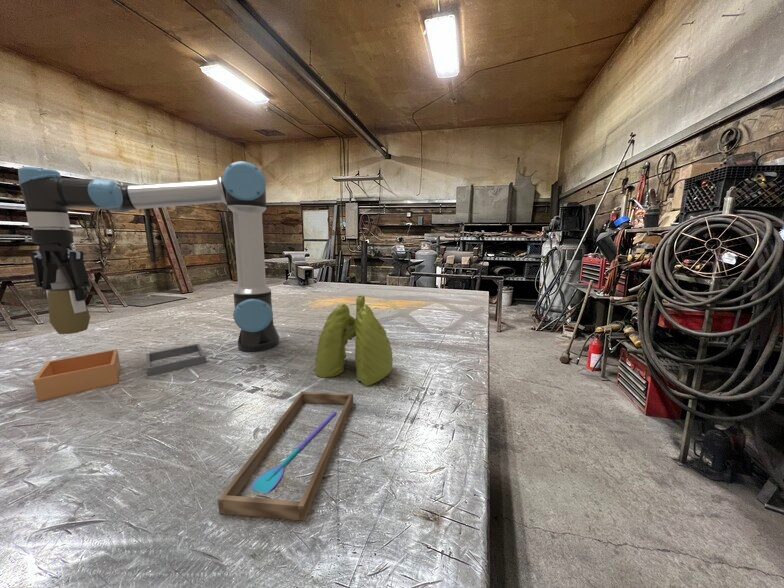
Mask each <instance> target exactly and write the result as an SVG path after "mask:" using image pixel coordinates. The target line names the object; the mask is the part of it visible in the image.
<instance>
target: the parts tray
mask: <svg viewBox="0 0 784 588" xmlns="http://www.w3.org/2000/svg"><path fill="white" fill-rule="evenodd" d="M194 352H198V354H199V356H195V357H190V358H185V359H181V360H177V361H173V362H167V363H162V364H158V365H154V366H153V365H152V364H151V361H155V360H161V359H165V358H170V357H175V356H176V357H177V356H181V355H185V354H190V353H194ZM145 357H146V373H147V376H148V377H149V376H150V377H151V376H154V375H155V376H156V375H159V374H163V373H168V372H172V371H175V370H176V371H178V370H181V369H184V368H189V367H194V366H198V365H203V364H207V358H206V354H205V352H204V350H203V349H202V347H201V345H200V343H195V344H189V345H185V346H180V347H179V346H178V347H175V348H169V349H165V350H159V351H154V352H148V353H146V354H145Z"/></svg>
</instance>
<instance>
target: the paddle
mask: <svg viewBox="0 0 784 588" xmlns="http://www.w3.org/2000/svg"><path fill="white" fill-rule="evenodd" d="M336 415H337V412H336V411H332V412H331V414H330V415H328V417H326V419H324V420H323V421H322V422H321V423H320V424H319V425H318V426H317V427H316V428H315V429H314V430H313V431H312V432H311V433H310V434H308V436H307V437H306V438H305V439H304V440H303V441H302V442H301V443H300V444H299V445H298V446H297V447H296V448H295V449H294V450H293V451H292V452H291V453H290V454H289V455H288V456H287V457H286V458H284V460H283V461H282V462H281V463H280V464H279V465H276V466H274V467H271V468H269V469H268V470H266V471H264V472H263V473H261V474H260V475H258V477H256V478H255V480H254V481H253V482H252V484H251V487H250V488H251V490H253V491H256V492H260V493H263V494H269V493H270V492H271V491H272V490H273V489H274V488H275V487H276V486H277V484H279V482H280V480H281V479H282V477H283V474H284V469H285V467H286V465H288V463H289V462H291V460H292V459H294V458H295V457H296V455H298V453H300V452H301V451H302V450H304V448H305V447H306V446H307V444H309V443H310V442H311V441H312V439H314V437H315V436H317V435H318V433H319V432H321V430H323V428H324V427H326V425H328V423H329V422H330V421H331V420H333V418H334V417H335V416H336Z"/></svg>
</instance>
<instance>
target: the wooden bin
mask: <svg viewBox="0 0 784 588" xmlns="http://www.w3.org/2000/svg"><path fill="white" fill-rule="evenodd" d="M119 356H120V355H119V351H118V348H116V349H115V348H114V349H110V350H103V351H99V352H92V353H88V354H83V355H75V356H71V357H65V358H64V357H63V358H60V359H54V360H49V361H46V362H45V363H44V365H43V367H41V369H40V370H39V372H38V373H37V374H36V375H35V376H34V378H33V380H32V382H33V387H34V390H35V394H36V400H37V402H41V401H47V400H51V399H55V398H59V397H63V396H68V395H72V394H78V393H81V392H85V391H90V390H94V389H98V388H103V387H107V386H110V385H111V386H112V385H116V384H118V383H119V377H120V372H121V361H120V357H119Z"/></svg>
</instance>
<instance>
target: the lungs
mask: <svg viewBox="0 0 784 588" xmlns="http://www.w3.org/2000/svg"><path fill="white" fill-rule="evenodd" d="M355 300H356V301H355V305H356V306H355V309H356V311H355V318H354V316H352V315H350V308H349V306H348V305H347V304H346V303H342V304H339V305H338V306H336V307H335V308H334V309H333V310H332V311H331V312H330V313H329V315H328V316H327V318H326V321H325V323H324V325H323V327H322V331H321V332H320V334H319V339H318V343H317V348H316V354H315V358H314V364H315V367H314V373H315V374H316V376H317V377H321V378H327V377H328V378H332V377H333V378H334V377H337V376H339V375H341V374H342V373H343V372H344V370H345V362H346V358H347V353H346V345H348V344H349V343H348V342H349V341H348V340H350V341H351V340H352V339H354V338H355V341H354V342H355V343H354V344H355V349H354V350H355V351H354V352H355V353H354V354H355V355H354V357H355V358H354V360H355V366H356V367H355V369H356V378H357V381H358V382H360V383H362V385H363V386H365V387H370V386H372V385H373V384H376V383H377V382H379V381H381V380H382V379H384V378H385V377H387V376H388V375H389V374H390V373H391V371H392V370H393V362H394V359H393V351H392V350H393V348H392V346H391V341H390V339H389V337H388V336H387V331H386V330H385V327H384V326H383V325H382V324H381V322H379V319H377V317H376V316H375V314H374V311H372V309H371V307H370V306H369V305H367V304H365V303H366V298H365V295H358V296H357V297H356V299H355Z"/></svg>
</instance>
